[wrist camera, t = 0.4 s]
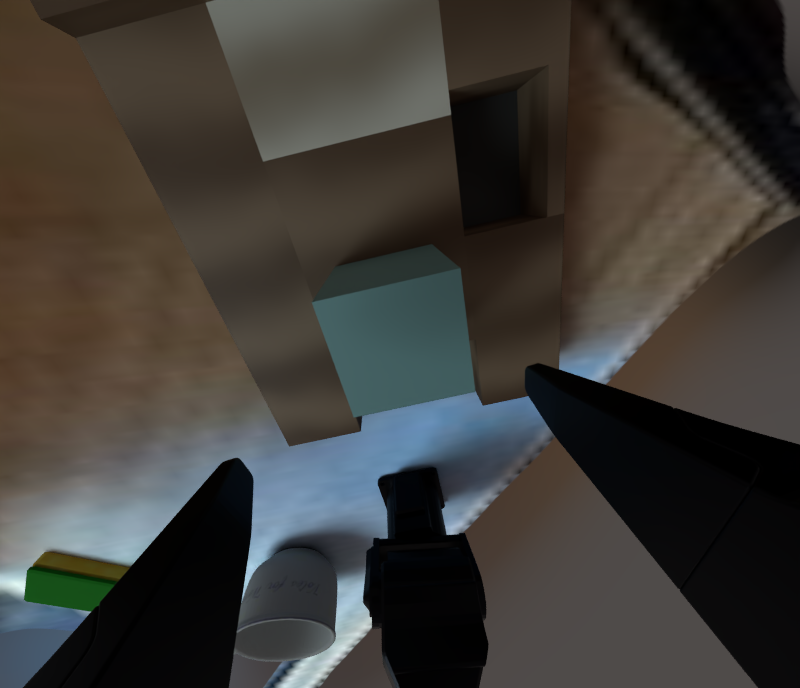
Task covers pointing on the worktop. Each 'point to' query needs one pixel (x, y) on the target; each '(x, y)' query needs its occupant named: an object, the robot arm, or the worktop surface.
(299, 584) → the teacup
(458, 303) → the teal block
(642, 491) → the robot arm
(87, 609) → the dish sponge
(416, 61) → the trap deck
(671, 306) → the worktop surface
